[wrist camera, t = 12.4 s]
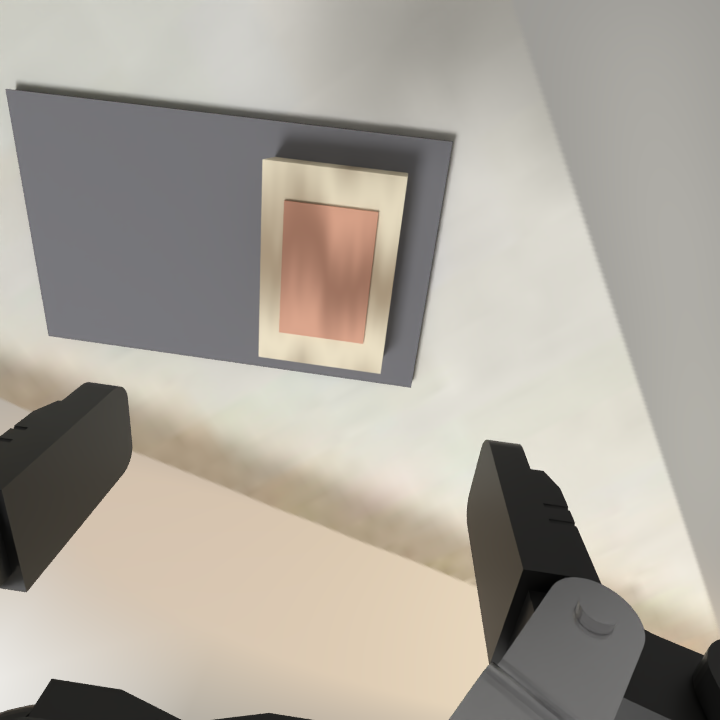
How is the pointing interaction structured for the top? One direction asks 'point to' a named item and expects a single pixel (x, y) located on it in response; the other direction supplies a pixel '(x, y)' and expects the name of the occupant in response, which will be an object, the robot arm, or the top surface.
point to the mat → (194, 224)
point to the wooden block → (327, 261)
